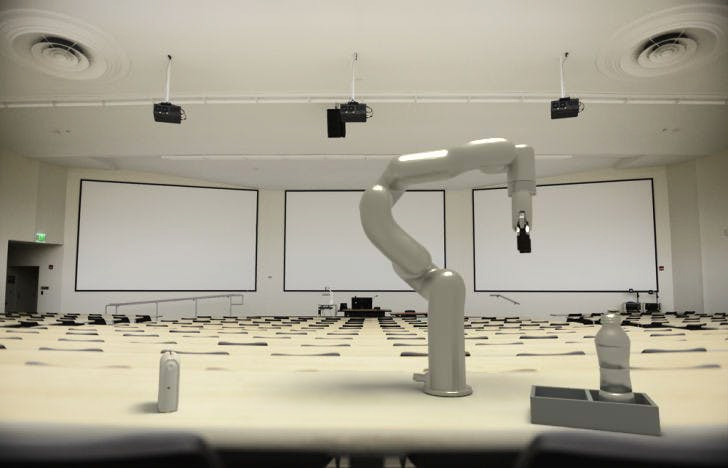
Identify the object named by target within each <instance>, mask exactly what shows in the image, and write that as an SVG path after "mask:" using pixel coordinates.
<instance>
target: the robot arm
mask: <svg viewBox="0 0 728 468" xmlns="http://www.w3.org/2000/svg"><path fill="white" fill-rule="evenodd" d="M475 170H479V171H480V172H481V173H482V174H485V175H499V174H505V173H506V183H507V197H509V198H511V229H512V231H513V232H514V233H517V235H516V250H517V251H518V252H519V254H531V253H532V239H531V236H530V235H531V234H530V232H531V231H532V230H533V197H535V196H536V195H538V194H537V181H536V180H537V176H536V156H535V149H534V146H532V145H529V144H514V142H512V141H511V140H510V139H508V138H505V137H495V138H485V139H478V140H473V141H469V142H464V143H462V144H459V145H454V146H449V147H447V148H441V149H435V150H426V151H419V152H417V151H416V152H409V153H404V154H398V155H395V156H394V157H392V158H390V160H389V162H388V163H387V165H386V167H385V170H384V171H383V172H382V173H381V175H380V177H379V178H378V179H377V180H376V182H374V184H373V185H370V186H368V187H367V188H366V189H365V190H364V191H363V193H362V195H361V197H360V200H359V204H358V208H359V218H360V219H359V220H360V223H361V227H362V229H363V232H364V235H365V236H366V237H367V240H369V242H370V243H371V244H372V245H373V246H374V247H375V248H376V249H377V250H378V251H379V252H381V254H382V255H383V256H384V257H385V258H387V259H388V260H389V261H390V262H391V266H392V269H393V271H394V272H395V274H396V275H397V276H398V277H399V278H400V279H401V280H402V281H403V282H404V283H406V285H408V286H409V287H410V289H413V290H414V291H415V293H417V294H418V295H420V296H421V297H422V298H423V299H425V300H426V301H427V302H428V305H427V306H428V307H427V308H428V309H427V322H426V323H427V350H428V351H427V353H428V354H427V355H428V358H427V360H428V361H427V363H428V365H427V366H428V371H427V372H425V373H420V372H419V373H418V372H417V373H416V372H414V373H412V379H413V381H414V382H418V383H419V382H420V383H421V382H422V383H424V385H422V391H423V392H424V393H426V394H429V395H433V396H440V397H462V396H463V397H464V396H467V395H468V396H469V395H471V394H473V387H472V386H471V385H469V384H467V376H466V375H467V372H466V369H467V368H466V367H467V366H466V341H465V339H466V338H465V337H466V335H465V305H466V297H467V296H466V295H467V294H466V291H467V290H466V288H467V287H466V283H465V281H464V279H463V277H462V275H460V274H459V273H458V272H457V271H455V270H453V269H450V268H439V267H438V265H436V264H435V263H434V262H433V260H432V256H431V253H430V251H429V250H428V249H427V248H426V247H425V246H424V245H422V244H421V243H419V241H417V240H416V239H415V238H413V237H412V236H411V235H410V234H409V233H408V232H407V231H406V230H405V229H404V228H402V227H401V226H400V225H399V224H398V223H397V221H396V220H395V219H394V216H393V213H392V212H393V211H392V208H394V206H395V205H396V204H397V203H398V201H399V200H400V199H401V198H402V196H404V194H405V192H406V191H407V189H408V188H409V187H410V186H412V185H418V184H426V183H436V182H442V181H448V180H451V179H454V178H456V177H459V176H460V175H463V174H466V173H468V172H471V171H475Z"/></svg>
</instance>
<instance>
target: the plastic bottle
mask: <svg viewBox="0 0 728 468" xmlns="http://www.w3.org/2000/svg"><path fill="white" fill-rule="evenodd" d="M600 324H601V326H600V329H598V331H597V332H596V334H595V336H594V341H593V342H594V345H595V350H596V356H597V360H598V361H597V362H598V367H599V368H598V369H599V389H598V390H599V396H598V401H601V402H614V403H627V404H636V402H635V397H634V394H633V392H634V391H633V385H632V381H631V374H630V372H631V370H630V357H631V356H630V355H631V343H632V342H631V340H630V337H629V335H628V334H627V332H626V331H625V329H623V328H622V326H621V324H623V321H622V314H616V313H615V314H614V313H612V314H611V313H609V314H608V313H607V314H606V313H602V314H600Z"/></svg>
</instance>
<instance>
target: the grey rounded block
mask: <svg viewBox="0 0 728 468" xmlns="http://www.w3.org/2000/svg"><path fill="white" fill-rule="evenodd" d="M179 356H180V355H179V354H178V353H177V352H176V351H174V350H173V351H165V352H164V353H162V355H161V356H160V358H159V369H158V370H159V371H158V372H159V373H158V374H159V375H158V395H157V407H158V411H159V413H162V412H169V413H172V412H171V411H174V412H176V411H177V410H178V409H179V402H180V380H181V359H180V357H179Z"/></svg>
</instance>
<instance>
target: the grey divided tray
mask: <svg viewBox="0 0 728 468" xmlns="http://www.w3.org/2000/svg"><path fill="white" fill-rule="evenodd" d="M599 390H600V389H595V388H594V389H592V388H578V387H563V386H547V385H535V384H532V385H531V388H530V395H529V402H530V404H529V405H530V408H529V409H530V423H531V424H536V425H547V426H557V427H567V428H568V427H569V428H577V429H586V430H587V429H588V430H596V431H597V430H598V431H607V432H608V431H609V432H611V431H612V432H618V433H628V434H629V433H631V434H637V435H638V434H639V435H641V434H642V435H650V436H660V437H661V436H662V433H661V431H662V430H661V422H660V421H661V420H660V409H659V408H660V407H659V406H658V405H657V403H655V402H654V401H653V400H652V398H651V397H650V396H649V395H648V393H646V392H639V391H638V392H637V391H632V392H633V394H634V397H635V402H636V404H627V403H614V402H601V401H598V396H599Z"/></svg>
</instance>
